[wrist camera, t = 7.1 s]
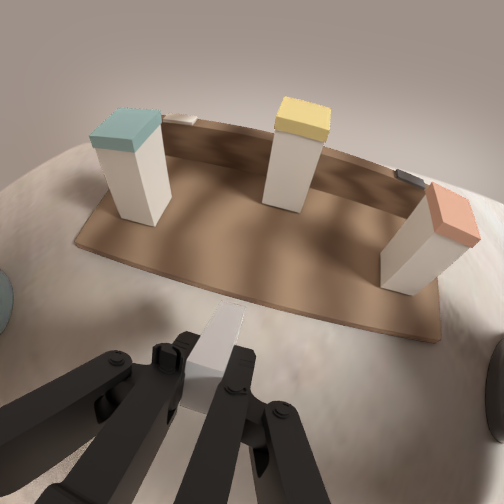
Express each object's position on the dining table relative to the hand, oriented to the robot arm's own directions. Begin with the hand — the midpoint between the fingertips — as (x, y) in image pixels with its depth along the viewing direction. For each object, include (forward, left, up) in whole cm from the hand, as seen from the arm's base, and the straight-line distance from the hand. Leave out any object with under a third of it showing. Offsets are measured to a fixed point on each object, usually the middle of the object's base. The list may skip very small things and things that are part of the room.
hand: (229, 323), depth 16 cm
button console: (-1, -12, -6) cm, 14 cm away
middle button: (-1, -16, -5) cm, 17 cm away
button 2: (+12, -10, -5) cm, 16 cm away
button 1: (-14, -10, -5) cm, 18 cm away
